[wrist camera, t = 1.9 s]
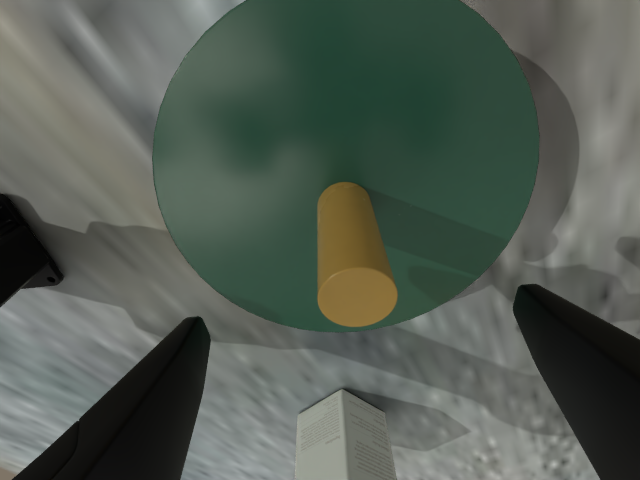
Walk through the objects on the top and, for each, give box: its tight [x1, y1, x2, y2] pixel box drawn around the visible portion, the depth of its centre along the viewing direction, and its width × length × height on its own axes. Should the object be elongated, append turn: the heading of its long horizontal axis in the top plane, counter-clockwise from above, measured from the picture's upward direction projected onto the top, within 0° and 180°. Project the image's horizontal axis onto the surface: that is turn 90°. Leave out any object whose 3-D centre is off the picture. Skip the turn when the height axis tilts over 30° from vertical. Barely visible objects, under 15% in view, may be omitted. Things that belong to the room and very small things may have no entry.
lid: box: [152, 0, 539, 332], centre depth 13 cm, size 17×17×7 cm
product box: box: [295, 389, 397, 480], centre depth 29 cm, size 6×6×7 cm
